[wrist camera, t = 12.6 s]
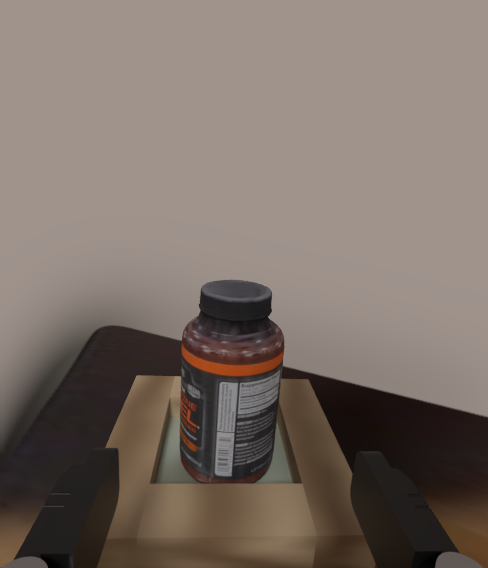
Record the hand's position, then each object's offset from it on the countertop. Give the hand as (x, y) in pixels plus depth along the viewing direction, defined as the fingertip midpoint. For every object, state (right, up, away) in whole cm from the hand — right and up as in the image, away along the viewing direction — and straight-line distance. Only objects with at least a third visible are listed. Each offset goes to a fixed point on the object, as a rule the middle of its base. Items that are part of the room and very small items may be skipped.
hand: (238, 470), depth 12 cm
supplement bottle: (-1, -5, +11) cm, 12 cm away
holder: (-1, -5, +11) cm, 12 cm away
